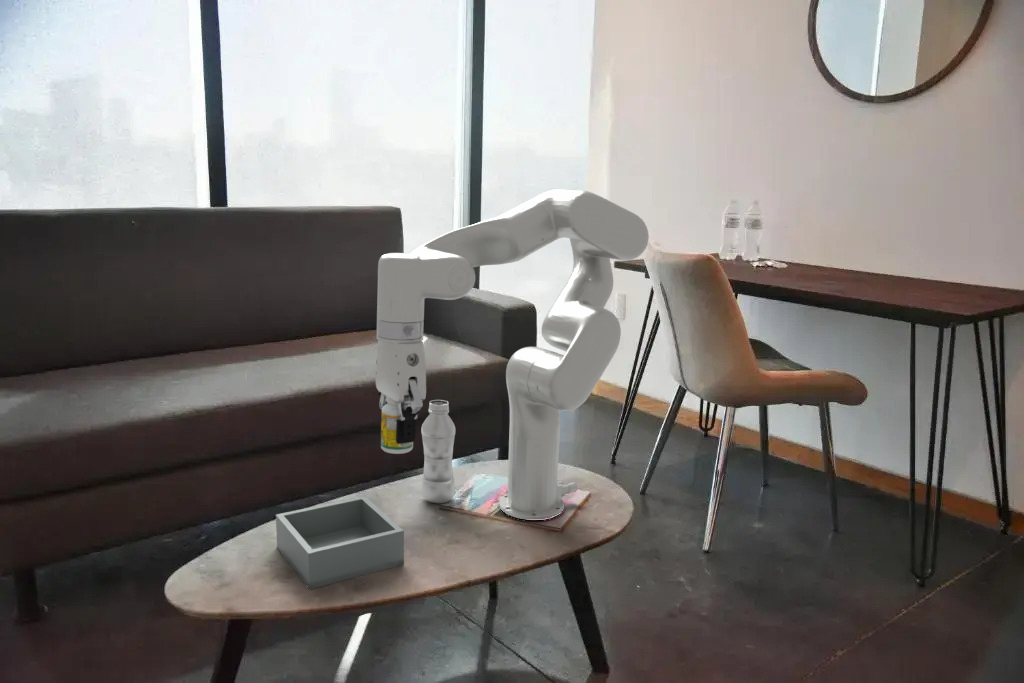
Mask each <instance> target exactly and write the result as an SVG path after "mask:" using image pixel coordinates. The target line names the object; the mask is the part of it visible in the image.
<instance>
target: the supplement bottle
mask: <svg viewBox="0 0 1024 683" xmlns="http://www.w3.org/2000/svg"><path fill="white" fill-rule="evenodd" d="M404 399H405V400H404V401H406V400H410V397H404ZM386 402H387V403H388V404H386V405H384V406H383V408H382V417H381V432H380V449H381V450H383V451H384V452H385V453H387V454H395V455H398V454H399V455H400V454H406V453H410V452H411V451H412V450H413V448H414V442H409V443H403V444H398V443H397V442H396V426H397V420H399V413H398V405H397V402H396V401H394V400H393V399H391V398H389V397H388V396H386ZM407 407H410V404H405V405H404V411H405V410H406V408H407Z"/></svg>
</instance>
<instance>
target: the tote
mask: <svg viewBox="0 0 1024 683" xmlns="http://www.w3.org/2000/svg"><path fill="white" fill-rule="evenodd" d="M275 521H276V522H275V524H276V526H275V527H276V529H275V530H276V549H277V550H278V551H279V552H280V553H281V555H282V556H283V557H284V558H285V560H286V561H287V562H288V564H289V565H290V567H291V568H292V569H293V570H294V571H295V573H296V574H297V575H298V576H299V578H300V579H301V581H303V583H304V584H306V585H307V586H308V587H307V586H306V585H305V586H306V587H307V588H308V590H312V588H313V589H316V587H317V588H320V587H319V586H321V587H323V586H327V585H331V584H335V583H339V582H342V581H347V580H350V579H354V578H357V577H358V578H359V577H361V576H365V575H368V574H372V573H373V574H374V573H378V572H381V571H384V570H387V569H391V568H395V567H399V566H402V565H403V566H404V565H405V530H404V529H403V528H402V527H400V526H399V524H397V523H396V522H395V521H393V519H391V517H389V516H388V515H387V514H386V513H385V512H383V510H381V508H379V507H378V506H377V505H375V504H374V503H373V502H372V500H370V499H369V498H368V497H366V495H364V496H358V497H353V498H348V499H343V500H340V501H336V502H329V503H326V504H321V505H314V506H310V507H306V508H302V509H296V510H292V511H291V510H290V511H287V512H282V513H276V514H275Z"/></svg>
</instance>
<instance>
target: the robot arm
mask: <svg viewBox="0 0 1024 683" xmlns="http://www.w3.org/2000/svg"><path fill="white" fill-rule="evenodd" d="M563 238H566V239H569V241H570V242H569V243H570V246H571V251H572V257H573V258H572V259H573V267H572V271H571V274H570V277H569V278H568V280H567V282H566V283H565V285H564V287H563V288H562V290H561V291H560V294H559V295H558V296H557V298H556V300H554V303H553V304H552V306H551V307H550V309H549V310H548V313H547V314H546V316H545V317H544V319H543V321H542V324H541V336H542V338H543V340H544V341H545V342H546V343H547V344H548V345H550V346H552V347H553V348H555V349H558V350H561V351H564V352H565V353H564V354H561V353H558V352H555V351H552V350H549V349H546V348H542V347H539V346H525V347H522V348H520V349H518V350H517V351H515V352H514V353H513V354H512V355H511V356H510V358H509V360H508V363H507V364H506V369H505V380H506V381H505V382H506V388H507V393H508V402H509V403H508V404H509V431H508V433H509V434H508V435H509V437H508V438H509V439H508V463H507V465H508V466H507V493H505V494H504V495H502V496H501V497H500V498H499V500H498V507H499V506H500V508H499V510H500V509H501V510H502V511H503V512H505V513H506V514H508V515H511V516H513V517H516V518H520V519H545V518H550V517H552V516H555V515H557V514H559V513H561V512H562V510H563V509H564V510H565V502H564V500H563V499H562V497H564V496H565V495H566V494H573V493H576V492H577V491H578V487H577V486H578V485H577V484H576V483H575V482H570V483H566V484H564V481H563V480H559V481H558V477H559V476H558V475H559V456H560V455H559V452H560V434H561V418H560V417H561V416H560V411H564V412H569V411H574V410H576V409H579V407H581V406H582V405H583V404H584V403H585V402H586V401H587V399H588V398H589V397H590V395H591V393H592V392H593V391H594V389H595V387H596V386H597V384H598V382H599V381H600V379H601V378H602V376H603V374H604V373H605V372H606V369H607V368H608V366H609V365H610V362H611V361H612V359H613V358H614V356H615V355H616V352H617V350H618V347H619V345H620V341H621V334H622V331H621V325H620V324H621V323H620V322H619V319H618V317H617V316H616V314H614V313H613V312H612V311H611V310H608V309H606V308H605V306H606V305H607V303H608V301H609V299H610V297H611V295H612V292H613V289H614V274H613V269H612V263H611V260H612V259H613V260H616V261H617V260H618V261H631V260H634V259H637V258H639V256H642V254H643V253H644V252H645V250H646V249H647V246H648V242H649V238H650V237H649V230H648V227H647V225H646V223H645V221H644V220H643V219H642V217H640V216H639V215H637V214H636V213H634V212H633V211H630V210H628V209H626V208H624V207H623V206H620V205H618V204H617V203H614V202H612V201H611V200H609V199H606V198H605V197H602V196H600V195H598V194H596V193H593V192H591V191H587V190H576V189H564V188H563V189H562V188H555V189H550V190H546V191H544V192H542V193H540V194H538V195H537V196H535V197H533V198H531V199H529V200H527V201H525V202H523V203H521V204H519V205H517V206H516V207H513V208H511V209H509V210H508V211H506V212H503V213H502V214H499V215H498V216H495V217H493V218H489V219H486V220H482V221H479V222H477V223H474V224H471V225H467V226H465V227H464V226H463V227H461V228H458V229H454V230H452V231H449V232H446V233H444V234H441V235H440V236H437V237H436V238H433V239H432V240H430V241H428V242H425V243H424V244H422V245H420V246H417V248H415V249H414V250H412V251H411V253H407V252H389V253H385V254H383V255H381V256H380V258H379V260H378V264H377V294H376V295H377V300H376V301H377V302H376V304H377V306H376V309H377V310H376V340H378V341H377V349H376V356H375V357H376V358H375V387H376V389H377V390H378V397H379V406H378V407H379V409H380V410H379V411H380V413H379V431H380V433H381V417H382V408H383V406H384V405H386V404H388V403H387V402H386V396H388V397H389V398H391V399H393V400H394V401H396V402H397V405H398V413H399V420H397V426H396V442H397V443H398V444H403V443H409V442H413V443H414V442H415V440H416V422H417V420H418V414H419V413H420V410H421V409H422V408H423V405H424V403H423V401H424V400H425V399H426V395H427V370H426V369H427V368H426V354H425V346H424V342H423V341H424V322H425V321H424V320H425V299H438V300H447V301H451V300H452V301H453V300H458V299H461V298H463V297H464V296H466V295H468V294H469V293H470V292H471V290H472V289H473V288H474V286H475V282H476V273H475V272H476V270H475V269H474V268H477V267H481V266H499V265H504V264H506V265H507V264H510V263H511V264H512V263H516V262H519V261H521V260H523V259H525V258H527V257H528V256H530V255H531V254H533V253H536V252H537V251H538V250H540V249H542V248H544V247H546V246H548V245H549V244H551V243H553V242H554V241H557V240H559V239H563ZM610 259H611V260H610ZM404 397H410V400H406V401H404V400H405V399H404ZM405 404H410V407H407V408H406V410H405V411H404V405H405ZM501 510H500V511H501ZM502 511H501V512H502ZM503 512H502V513H503Z"/></svg>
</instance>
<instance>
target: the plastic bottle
mask: <svg viewBox="0 0 1024 683" xmlns="http://www.w3.org/2000/svg"><path fill="white" fill-rule="evenodd" d="M428 413H429V415H428V416H427V417H426V418H425V420H424V421H423V423H422V424H421V429H420V430H421V432H420V433H421V439H422V445H423V455H424V456H423V457H424V458H423V460H424V464H423V475H422V480H421V487H420V491H421V494H422V495H421V496H422V497H423V499H424V500H425V501H427V502H429V503H432V504H444V503H448V502H451V500H452V499H453V498H454V496H455V493H456V483H455V476H454V469H453V455H454V454H453V453H454V443H455V437H456V436H455V435H456V426H455V423H454V422H453V420H452V418H451V417H450V416H449V413H450V407H449V401H448V400H444V399H434V400H430V401H429V405H428Z"/></svg>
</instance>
